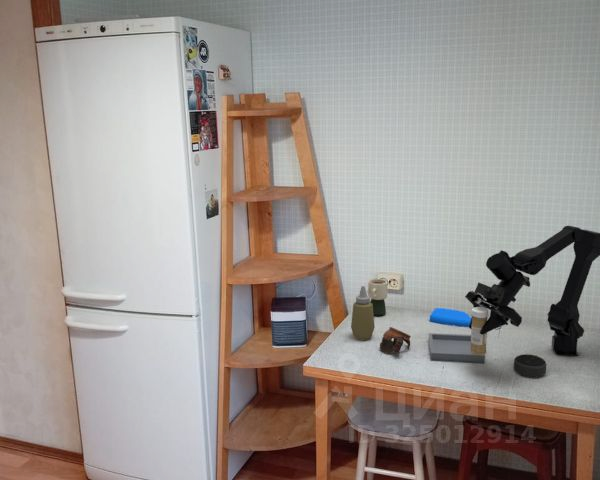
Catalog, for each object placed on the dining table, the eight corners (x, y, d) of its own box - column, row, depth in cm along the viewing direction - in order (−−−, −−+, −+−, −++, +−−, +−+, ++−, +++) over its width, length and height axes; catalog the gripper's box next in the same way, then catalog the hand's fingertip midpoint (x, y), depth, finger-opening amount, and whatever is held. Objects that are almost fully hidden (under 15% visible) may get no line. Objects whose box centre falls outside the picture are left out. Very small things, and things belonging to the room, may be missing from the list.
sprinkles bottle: (489, 353, 170) (491, 309, 167) (478, 357, 168) (481, 313, 165) (477, 348, 174) (479, 305, 171) (466, 351, 172) (468, 308, 169)
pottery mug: (374, 346, 193) (384, 323, 194) (399, 358, 194) (409, 335, 195) (383, 352, 181) (394, 328, 182) (410, 364, 182) (420, 340, 183)
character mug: (373, 308, 227) (373, 276, 224) (391, 310, 224) (391, 278, 221) (363, 317, 218) (363, 284, 215) (381, 320, 215) (382, 286, 212)
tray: (477, 342, 194) (478, 335, 193) (484, 363, 178) (485, 355, 178) (428, 340, 196) (428, 333, 196) (430, 360, 181) (431, 352, 180)
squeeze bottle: (347, 339, 198) (347, 289, 194) (354, 331, 205) (354, 282, 201) (371, 343, 195) (371, 291, 191) (377, 334, 202) (377, 284, 198)
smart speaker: (508, 373, 172) (509, 360, 171) (520, 363, 178) (521, 350, 177) (539, 382, 166) (540, 369, 165) (550, 371, 173) (551, 358, 172)
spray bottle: (428, 315, 211) (499, 326, 201) (435, 306, 221) (503, 316, 211) (428, 323, 212) (499, 334, 202) (435, 313, 222) (503, 323, 212)
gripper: (471, 265, 175) (439, 305, 174) (516, 281, 159) (481, 326, 157) (491, 286, 180) (460, 325, 179) (536, 304, 163) (503, 348, 162)
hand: (475, 331), depth 169 cm, fingers closed on sprinkles bottle, 4 cm apart
